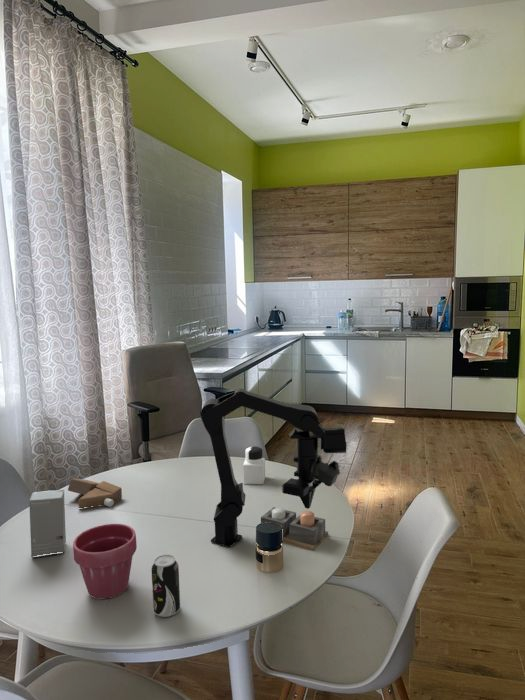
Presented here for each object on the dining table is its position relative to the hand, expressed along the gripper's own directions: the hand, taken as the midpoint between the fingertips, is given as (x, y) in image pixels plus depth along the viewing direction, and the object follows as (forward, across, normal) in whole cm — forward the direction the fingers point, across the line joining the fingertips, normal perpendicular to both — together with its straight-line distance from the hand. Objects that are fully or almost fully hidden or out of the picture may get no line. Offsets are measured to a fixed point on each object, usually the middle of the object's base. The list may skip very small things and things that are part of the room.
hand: (307, 508), depth 143 cm
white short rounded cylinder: (+8, 0, +9) cm, 12 cm away
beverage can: (+9, -43, +14) cm, 46 cm away
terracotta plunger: (+7, 0, 0) cm, 7 cm away
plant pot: (+9, -43, +32) cm, 54 cm away
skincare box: (+9, -38, +59) cm, 70 cm away
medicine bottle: (+9, +29, +35) cm, 46 cm away
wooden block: (+9, -11, +73) cm, 74 cm away
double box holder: (+9, 0, +5) cm, 10 cm away
